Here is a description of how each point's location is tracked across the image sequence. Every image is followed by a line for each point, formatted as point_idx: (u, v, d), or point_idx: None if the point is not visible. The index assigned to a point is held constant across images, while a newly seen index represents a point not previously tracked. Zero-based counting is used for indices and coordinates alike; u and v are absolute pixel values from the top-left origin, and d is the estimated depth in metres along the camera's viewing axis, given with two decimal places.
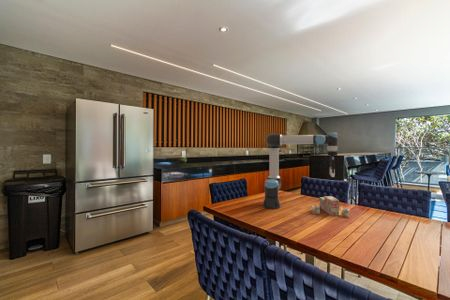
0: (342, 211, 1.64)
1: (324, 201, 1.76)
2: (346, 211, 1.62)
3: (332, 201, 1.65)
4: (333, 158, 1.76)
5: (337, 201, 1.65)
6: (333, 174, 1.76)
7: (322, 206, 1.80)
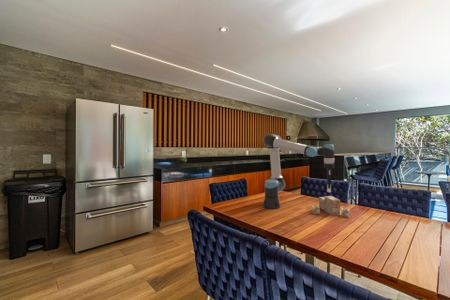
0: (342, 211, 1.64)
1: (324, 201, 1.77)
2: (346, 211, 1.62)
3: (333, 201, 1.65)
4: (329, 174, 1.69)
5: (338, 201, 1.65)
6: (329, 189, 1.74)
7: (322, 206, 1.80)
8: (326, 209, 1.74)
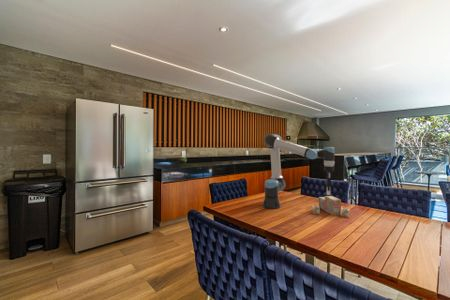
0: (342, 211, 1.64)
1: (325, 201, 1.77)
2: (346, 211, 1.62)
3: (334, 201, 1.65)
4: (329, 176, 1.69)
5: (339, 201, 1.66)
6: (329, 192, 1.74)
7: (322, 206, 1.80)
8: (327, 209, 1.74)
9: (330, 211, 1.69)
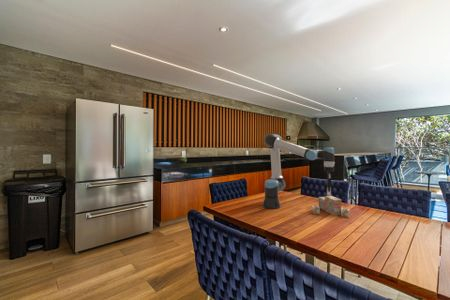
0: (342, 211, 1.64)
1: (325, 201, 1.77)
2: (346, 211, 1.62)
3: (335, 201, 1.65)
4: (329, 177, 1.69)
5: (339, 201, 1.66)
6: (329, 193, 1.74)
7: (322, 206, 1.80)
8: (327, 209, 1.74)
9: (330, 211, 1.69)
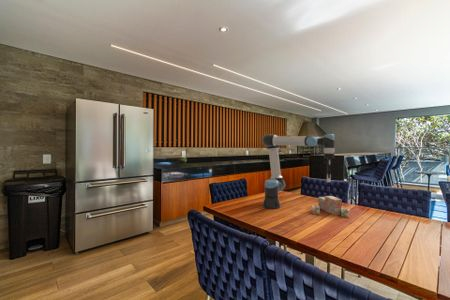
0: (342, 211, 1.64)
1: (325, 201, 1.77)
2: (346, 211, 1.62)
3: (335, 201, 1.66)
4: (329, 163, 1.69)
5: (340, 200, 1.66)
6: (329, 179, 1.74)
7: (322, 206, 1.81)
8: (327, 209, 1.74)
9: (331, 211, 1.70)
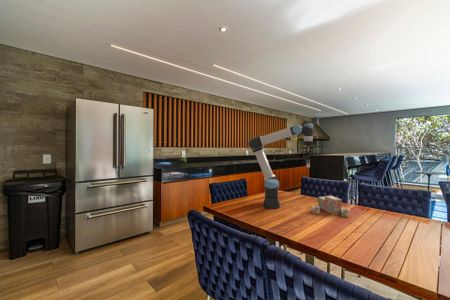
0: (342, 211, 1.64)
1: (325, 201, 1.77)
2: (346, 211, 1.62)
3: (336, 201, 1.66)
4: (308, 150, 1.87)
5: (340, 200, 1.67)
6: (308, 165, 1.92)
7: (322, 206, 1.81)
8: (327, 209, 1.75)
9: (331, 211, 1.70)
